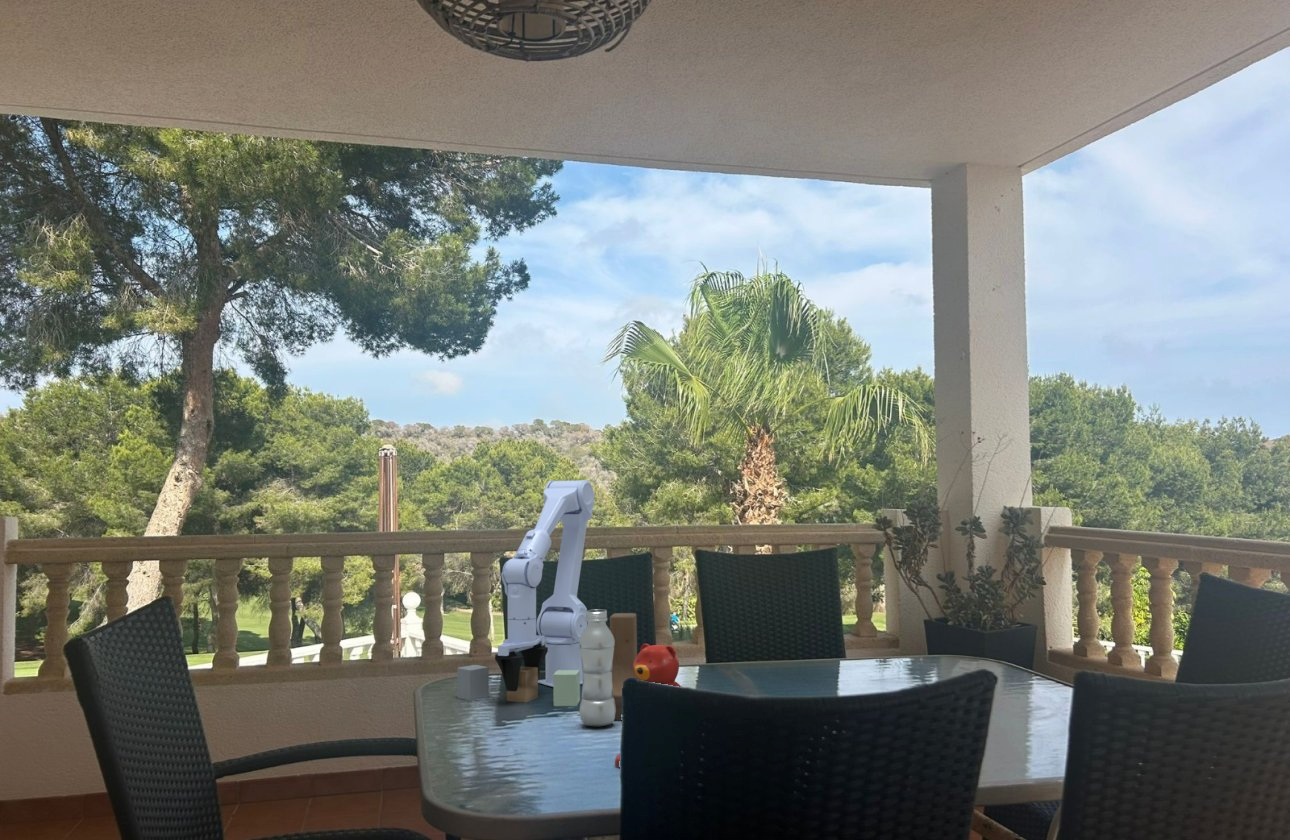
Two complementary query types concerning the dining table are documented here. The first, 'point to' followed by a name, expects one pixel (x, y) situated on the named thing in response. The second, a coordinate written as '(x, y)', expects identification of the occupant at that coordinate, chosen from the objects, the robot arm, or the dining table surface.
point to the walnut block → (525, 686)
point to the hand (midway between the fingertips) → (522, 687)
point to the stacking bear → (655, 667)
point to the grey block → (472, 682)
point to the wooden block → (623, 653)
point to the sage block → (566, 687)
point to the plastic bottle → (597, 671)
